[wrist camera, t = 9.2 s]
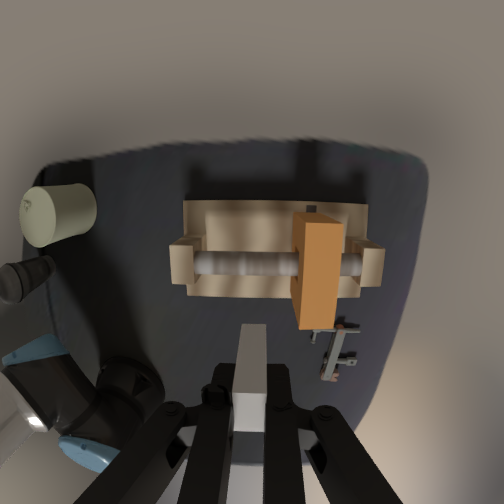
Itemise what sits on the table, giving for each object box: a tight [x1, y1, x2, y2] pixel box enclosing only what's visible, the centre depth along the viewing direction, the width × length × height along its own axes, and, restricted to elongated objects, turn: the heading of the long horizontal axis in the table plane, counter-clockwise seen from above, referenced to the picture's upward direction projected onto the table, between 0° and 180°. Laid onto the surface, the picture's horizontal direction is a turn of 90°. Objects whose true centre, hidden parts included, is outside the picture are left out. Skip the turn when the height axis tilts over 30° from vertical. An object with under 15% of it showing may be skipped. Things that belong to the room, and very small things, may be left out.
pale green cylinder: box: [19, 183, 97, 247], centre depth 37 cm, size 9×9×12 cm
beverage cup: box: [0, 255, 56, 304], centre depth 36 cm, size 7×7×20 cm
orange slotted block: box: [290, 212, 344, 330], centre depth 35 cm, size 4×12×12 cm, turn 179°
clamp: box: [310, 324, 360, 381], centre depth 46 cm, size 15×2×10 cm
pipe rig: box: [170, 200, 385, 298], centre depth 38 cm, size 28×15×10 cm, turn 90°
